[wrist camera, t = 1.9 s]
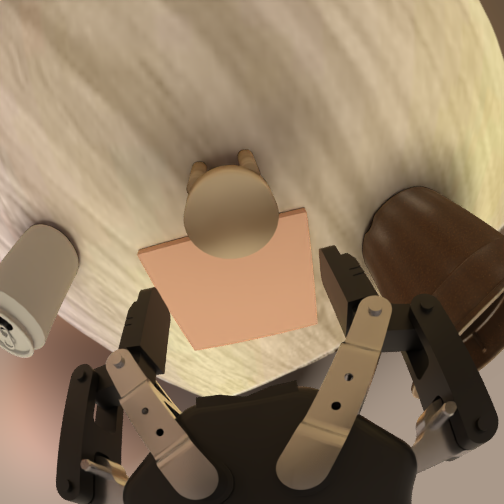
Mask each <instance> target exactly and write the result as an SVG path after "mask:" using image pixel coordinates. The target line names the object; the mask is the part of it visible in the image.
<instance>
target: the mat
mask: <svg viewBox="0 0 504 504" xmlns="http://www.w3.org/2000/svg"><path fill="white" fill-rule="evenodd" d="M137 255H138V257H139V259H140V261H141V263H142V265H143V266H144V268H145V270H146V272H147V274H148V275H149V277H150V279H151V281H152V282H153V284H154V286H155V288H156V289H157V290H158V292H159V293H160V295H161V297H162V299H163V300H164V302H165V304H166V306H167V307H168V309H169V311H170V313H171V314H172V316H173V318H174V319H175V321H176V322H177V324H178V325H179V327H180V329H181V330H182V332H183V333H184V335H185V336H186V338H187V339H188V341H189V342H190V344H191V345H192V347H193V348H194V350H195V351H196V350H202V349H207V348H213V347H218V346H224V345H229V344H234V343H239V342H244V341H249V340H253V339H258V338H262V337H267V336H271V335H275V334H280V333H284V332H288V331H292V330H296V329H300V328H304V327H308V326H311V325H315V324H317V310H316V297H315V286H314V275H313V264H312V255H311V245H310V236H309V228H308V220H307V212H306V210H305V209H304V208H301V209H297V210H293V211H288V212H284V213H280V214H279V220H278V226H277V229H276V231H275V233H274V235H273V237H272V238H271V240H270V241H269V242H268V243H267V244H266V245H265V246H264V247H263V248H262V249H260V250H259V251H257V252H255V253H253V254H251V255H249V256H246V257H242V258H236V259H223V258H218V257H214V256H211V255H209V254H207V253H205V252H203V251H202V250H200V249H199V248H198V247H196V246H195V245H194V243H193V242H192V241H191V240H190V238H189V237H184V238H181V239H177V240H173V241H170V242H166V243H162V244H159V245H155V246H151V247H148V248H144V249H141V250H139V251H138V254H137Z"/></svg>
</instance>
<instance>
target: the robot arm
mask: <svg viewBox="0 0 504 504" xmlns="http://www.w3.org/2000/svg"><path fill="white" fill-rule="evenodd" d="M319 258H320V271H321V278H322V282H323V285H324V288H325V290H326V292H327V295H328V297H329V299H330V302H331V304H332V306H333V309H334V311H335V313H336V316H337V318H338V320H339V323H340V325H341V328H342V330H343V333H344V335H345V337H346V340H345V341H344V342H342V343H341V344H340V346H339V348H338V351H337V353H336V355H335V358H334V360H333V362H332V364H331V366H330V368H329V371H328V373H327V375H326V377H325V379H324V381H323V383H322V385H321V387H320V389H319V390H318V389H315V388H311V387H298V386H297V382H296V380H295V381H291V382H287V383H282V384H278V385H273V386H270V387H268V388H265V389H263V390H260V391H258V392H256V393H253V394H251V395H249V396H245V397H241V396H228V395H214V396H206V397H198V398H196V405H194V406H192V407H190V408H188V409H186V410H185V411H184V412H181V411H180V410H179V409H178V408H177V407H176V406H175V404H174V403H173V402H172V401H171V399H170V398H169V397H168V396H167V394H166V393H165V392H164V390H163V389H162V388H161V386H160V385H159V384H158V383H157V382H156V375H159V374H164V373H165V363H166V353H167V344H168V336H169V328H170V312H169V309H168V307H167V306H166V304H165V302H164V300H163V299H162V297H161V295H160V293H159V292H158V290H157V289H156V288H155V287H153V288H149V289H144V290H141V291H140V293H139V296H138V300H137V301H136V302H134V303H133V304H132V306H131V307H130V309H129V310H128V314H127V317H126V319H127V320H126V321H125V326H124V329H123V333H122V337H121V341H120V345H119V349H118V350H116V351H114V352H113V353H112V354H111V355H110V356H109V357H108V359H107V361H106V364H105V365H103V366H101V367H98V368H96V369H92V367H90V366H89V365H88V364H83V365H80V366H78V367H77V368H76V369H75V370H74V372H73V373H72V376H71V380H70V385H69V389H68V394H67V399H66V404H65V409H64V415H63V421H62V428H61V435H60V442H59V451H58V461H57V475H56V487H57V490H58V493H59V494H60V496H61V497H62V498H63V499H65V500H68V501H71V502H75V503H78V504H411V497H412V490H413V485H414V481H415V478H416V474H417V473H419V472H422V471H424V470H426V469H429V468H431V467H433V466H435V465H437V464H439V463H441V462H443V461H452V460H455V459H457V458H459V457H460V456H462V455H464V454H466V453H468V452H470V451H472V450H474V449H475V448H477V447H479V446H481V445H482V444H484V443H486V442H487V441H489V440H490V439H491V438H492V437H493V436H494V434H495V433H496V430H497V428H498V416H497V413H496V411H495V408H494V406H493V403H492V401H491V398H490V396H489V394H488V391H487V389H486V387H485V385H484V382H483V380H482V378H481V376H480V374H479V372H478V370H477V368H476V366H475V364H474V362H473V360H472V358H471V356H470V354H469V352H468V350H467V348H466V346H465V344H464V342H463V341H462V339H461V337H460V335H459V333H458V332H457V330H456V328H455V326H454V325H453V323H452V321H451V320H450V318H449V316H448V315H447V313H446V311H445V310H444V308H443V306H442V305H441V303H440V302H439V300H438V299H437V298H436V297H434V296H432V295H430V294H419V295H416V296H415V297H414V298H413V299H412V301H411V303H410V304H392V303H390V302H389V301H388V300H387V299H385V298H384V297H381V296H379V295H378V294H377V292H376V290H375V289H374V287H373V285H372V284H371V282H370V281H369V279H368V277H367V276H366V274H365V273H364V271H363V269H362V268H361V267H360V265H359V263H358V261H357V260H356V258H354V257H353V256H351V255H350V254H348V253H345V254H342V255H341V254H340V253H339V251H338V249H337V248H336V246H335V245H333V246H329V247H325V248H321V249H319ZM397 351H398V352H399V351H401V353H402V355H403V358H404V360H405V362H406V365H407V367H408V370H409V372H410V375H411V377H412V380H413V383H414V385H415V388H416V391H417V393H418V396H419V399H420V401H421V404H422V407H423V410H424V412H423V413H422V414H421V416H420V417H419V418H418V420H417V423H416V440H415V443H414V444H413V446H412V447H410V446H409V445H408V444H407V443H406V442H405V441H403V440H401V439H399V438H398V437H396V436H394V435H393V434H391V433H389V432H388V431H386V430H384V429H383V428H381V427H379V426H377V425H376V424H374V423H373V422H371V421H369V420H368V419H366V418H364V417H363V416H361V415H360V411H361V409H362V407H363V404H364V402H365V399H366V396H367V394H368V391H369V388H370V385H371V382H372V379H373V377H374V374H375V371H376V368H377V365H378V362H379V359H380V355H381V352H397ZM95 403H96V404H97V411H96V419H95V422H94V418H93V414H94V407H95ZM123 410H124V411H125V413H126V415H127V416H128V418H129V420H130V421H131V423H132V425H133V426H134V428H135V429H136V431H137V433H138V434H139V436H140V437H141V439H142V440H143V442H144V443H145V445H146V446H147V448H148V449H149V451H150V453H149V454H148V455H147V457H146V458H145V459H144V460H143V462H142V463H141V464H140V465H139V467H138V468H137V469H136V471H135V472H134V473H133V474H132V475H131V477H130V478H129V477H128V476H127V475H126V471H125V469H124V468H123V467H122V466H121V445H122V424H123Z"/></svg>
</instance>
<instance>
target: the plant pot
mask: <svg viewBox="0 0 504 504" xmlns="http://www.w3.org/2000/svg"><path fill="white" fill-rule="evenodd" d="M363 256H364V261H365V264H366V266H367V268H368V270H369V272H370V274H371V275H372V277H373V279H374V281H375V283H376V285H377V287H378V289H379V291H380V293H381V295H382V297H384V298H385V299H387V300H388V301H389V302H390V303H392V304H410V303H411V301H412V299H413V298H414V297H415V296H416V295H419V294H430V295H432V296H434V297H436V298H437V299H438V300H439V302H440V303H441V305H442V306H443V308H444V310H445V311H446V313H447V315H448V316H449V318H450V320H451V321H452V323H453V325H454V326H455V328H456V330H457V332H458V333H459V335H460V337H461V339H462V341H463V342H464V344H465V346H466V348H467V350H468V352H469V354H470V356H471V358H472V360H473V362H474V364H475V366H476V368H477V370H478V371H479V370H481V369H482V368H483V367H485V366H486V365H487V364H488V363H489V362H490V361H491V360H493V359H494V358H495V357H496V356H497V355H498V354H499V353H500V352H501V351H502V350H503V349H504V235H502V234H501V233H500V232H498V231H497V230H495V229H494V228H493V227H491V226H490V225H488V224H487V223H485V222H484V221H482V220H481V219H479V218H478V217H476V216H475V215H473V214H472V213H470V212H469V211H467V210H466V209H464V208H462V207H461V206H459V205H458V204H456V203H454V202H453V201H451V200H449V199H448V198H446V197H444V196H442V195H441V194H439V193H438V192H436V191H434V190H431V189H429V188H426V187H412V188H409V189H406V190H404V191H401V192H400V193H398V194H396V195H395V196H393V197H392V198H390V199H389V200H388V201H387V202H386V203H385V204H384V205H383V206H382V207H381V208H380V209H379V210H378V211H377V213H376V214H375V215H374V218H373V223H372V226H371V228H370V230H369V231H368V232H367V233H366V234H365V237H364V242H363ZM411 391H412V394H413V396H414V397H415V398H418V399H419V396H418V393H417V391H416V388H415V385H414V383H412V387H411Z"/></svg>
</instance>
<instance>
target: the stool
mask: <svg viewBox="0 0 504 504" xmlns="http://www.w3.org/2000/svg"><path fill="white" fill-rule="evenodd" d="M238 161H239V165H240V166H237V165H225V166H220V167H216V168H213V169H211V170H209V171H207V167H206V165H205V164H204V163H203V162H196V163H194V164H193V166H192V170H191V173H190V177H189V181H188V185H187V193H188V197H187V202H186V206H185V211H184V226H185V229H186V232H187V235H188V237H189V238H190V240H191V241H192V242H193V243H194V245H195V246H196V247H198V248H199V249H200V250H202V251H203V252H205V253H207V254H209V255H211V256H214V257H218V258H223V259H236V258H242V257H246V256H249V255H251V254H253V253H255V252H257V251H259V250H260V249H262V248H263V247H264V246H265V245H266V244H267V243H268V242H269V241H270V240H271V238H272V237H273V235H274V233H275V231H276V229H277V226H278V220H279V212H278V207H277V203H276V201H275V199H274V196H273V194H272V192H271V190H270V187H269V185H268V184H267V182H266V181H265V180H264V179H263V178H262V177H261V176H260V171H259V169H258V166H257V164H256V162H255V159H254V157H253V155H252V153H251V151H249V150H246V149H245V150H241V151H240V152H239V153H238ZM206 171H207V172H206Z"/></svg>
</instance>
